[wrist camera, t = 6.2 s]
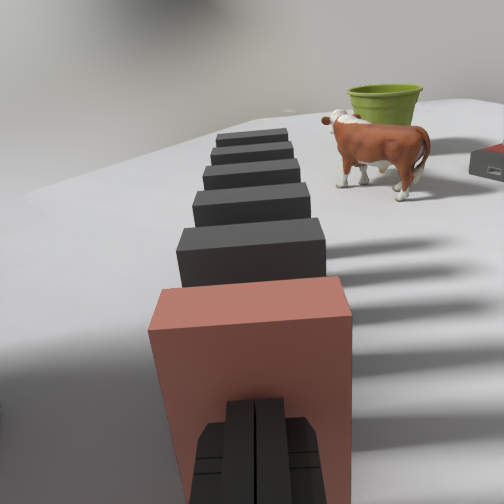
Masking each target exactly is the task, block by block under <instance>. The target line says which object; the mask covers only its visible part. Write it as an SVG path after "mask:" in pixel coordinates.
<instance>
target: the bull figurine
mask: <svg viewBox="0 0 504 504" xmlns="http://www.w3.org/2000/svg"><path fill="white" fill-rule="evenodd" d="M321 122H322V123H323V124H324V125H329V124H331V127H330V129H329V132H330V133H332V134H334V136H335V138H336V142H337V144H338V151H339V152H340V154H341V155H342V157H343V158H342V159H343V168H342V177H341V179H340V182H339V183H338V184H337V185H336V187H337V188H343V187H345V186H348V182H347V177H348V175H349V173H350V170H351V166H355V167H359V168H360V171H361V174H362V175H361V179H360V181H359V184H360V185H363V184H367V182H369V178H368V176H367V172H366V170H367V165H369V166H376V167H378V168H379V170H380V173H382V174H383V173H384V172H385V171H386V170H387V168H388V167H389V166H390V165H392V164H393V165H395V166H396V168H397V169H398V172H399V175H400V177H401V180H400V181H399V182H398V183H397V184H396V185H395V186H394V187H393V190H394V191H400V193H399V194H398V196H397V197H396V199H395V200H396V201H403V200H404V198H407V197H408V196H409V188H410V185H411V182H412V181H413V183H414V184H416V183H417V182H418V181H419V180H420V178H421V175H422V173H423V170H424V165H425V161H426V159H427V158H428V155H429V153H430V139H429V136H428V134H427V132H426V131H425V130H424V129H423V128H422V127H419V126H401V125H385V124H375V123H372V122H369V121H366V120H361V116H360V115H359V114H353V115H350V114H347V112H346V111H345V110H343V109H337V110H335V111H334V112H333V113H332V115H331V116H330V117H323V118H322V120H321ZM425 150H426V151H425ZM424 152H425V154H424ZM423 154H424V157H423V159H422V161H421V162H420V164H419V165H417V166H416V168H415V169H414V165H415V163H416V162H417V161H418V160H419V159H420V158H421V157H422V156H423Z"/></svg>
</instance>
